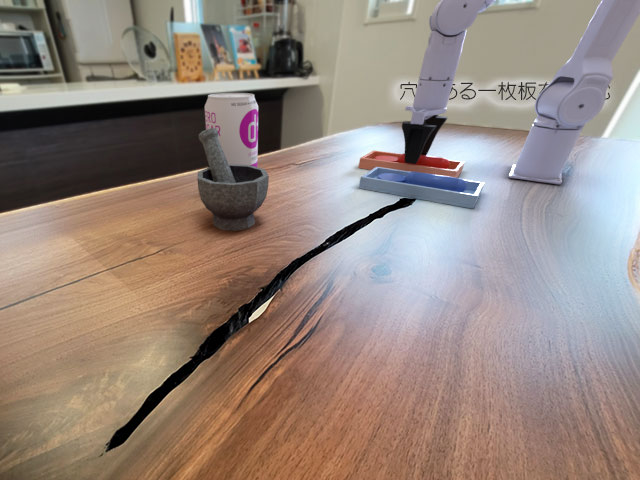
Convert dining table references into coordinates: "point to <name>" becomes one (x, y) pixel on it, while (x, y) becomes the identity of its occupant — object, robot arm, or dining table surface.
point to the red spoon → (423, 160)
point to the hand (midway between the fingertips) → (415, 159)
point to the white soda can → (235, 125)
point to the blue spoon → (427, 180)
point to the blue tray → (421, 189)
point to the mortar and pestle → (230, 187)
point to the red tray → (408, 165)
